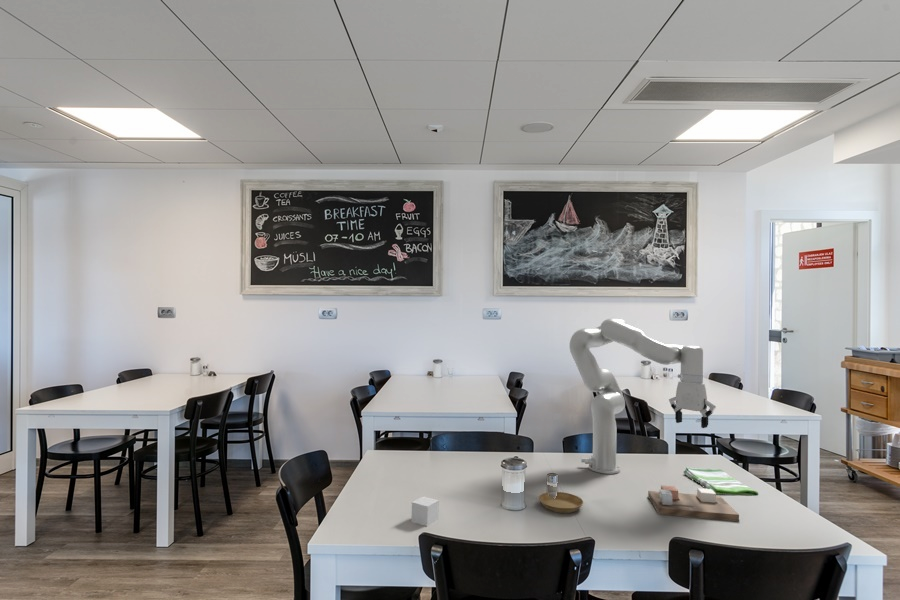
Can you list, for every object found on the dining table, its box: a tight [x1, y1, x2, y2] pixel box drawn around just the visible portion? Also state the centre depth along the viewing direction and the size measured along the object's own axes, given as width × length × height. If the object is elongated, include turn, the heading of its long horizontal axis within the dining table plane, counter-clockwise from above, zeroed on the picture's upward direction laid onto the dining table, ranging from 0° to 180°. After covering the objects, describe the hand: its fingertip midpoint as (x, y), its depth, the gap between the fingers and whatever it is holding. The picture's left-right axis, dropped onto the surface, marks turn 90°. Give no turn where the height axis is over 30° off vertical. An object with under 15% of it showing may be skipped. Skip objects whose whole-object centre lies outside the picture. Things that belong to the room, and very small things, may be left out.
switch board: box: [647, 490, 740, 522], centre depth 167 cm, size 24×16×2 cm, turn 80°
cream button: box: [696, 487, 717, 503], centre depth 169 cm, size 5×5×3 cm
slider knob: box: [659, 488, 672, 505], centre depth 165 cm, size 3×4×4 cm
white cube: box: [411, 495, 440, 527], centre depth 153 cm, size 6×6×6 cm
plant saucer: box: [538, 491, 584, 514], centre depth 166 cm, size 15×15×3 cm
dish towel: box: [683, 466, 759, 496], centre depth 192 cm, size 17×23×4 cm
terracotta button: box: [660, 484, 679, 500], centre depth 171 cm, size 5×5×3 cm
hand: (691, 424), depth 185 cm, fingers open, 9 cm apart
